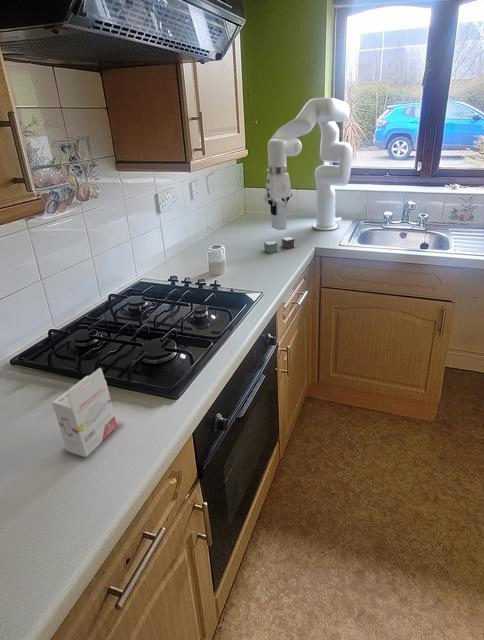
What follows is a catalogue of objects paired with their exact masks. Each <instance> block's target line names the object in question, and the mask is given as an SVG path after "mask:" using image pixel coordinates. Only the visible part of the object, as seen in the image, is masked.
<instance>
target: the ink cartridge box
mask: <svg viewBox="0 0 484 640" xmlns="http://www.w3.org/2000/svg"><path fill="white" fill-rule="evenodd" d="M51 403H52V406H53V407H52V408H53V410H54V412H55V416H56V419H57V423H58V427H59V429H60V433H61V436H62V438H63V442H64V445H65V448H66V451H67V453H71V454H74V455H77V456H80V457H83V458H88V456H90V455H91V454H92V452H94V451H95V449H97V447H98V446H99V445H100V444H101V443H103V441H105V440H106V439H107V438H108V436H109V435H110V434H111V433H112V432H113V431H114V430H115V429H116V428H117V427H118V424H117V421H116V417H115V413H114V408H113V403H112V399H111V396H110V391H109V388H108V384H107V380H106V379H105V375H104V372H103V369H102V367H99V368H97V369H96V370H95V371H93V372H92V373H91V374H89V375H86V376H84V377H83V378H82V379H81V380H79V381H78V382H77V383H75V384H74V385H73V386H71V387H70V388H69V389H67V390H66V391H65V392H64V393H62V394H61V395H59V396H58V397H57V398H55V399H54V400H53V401H52V402H51Z"/></svg>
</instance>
